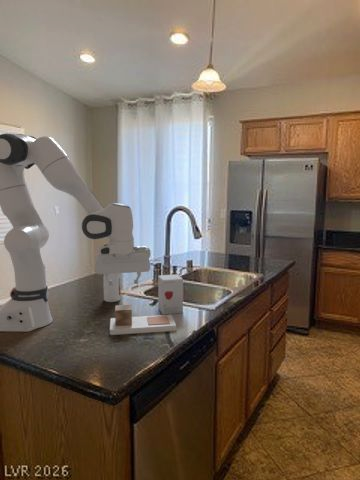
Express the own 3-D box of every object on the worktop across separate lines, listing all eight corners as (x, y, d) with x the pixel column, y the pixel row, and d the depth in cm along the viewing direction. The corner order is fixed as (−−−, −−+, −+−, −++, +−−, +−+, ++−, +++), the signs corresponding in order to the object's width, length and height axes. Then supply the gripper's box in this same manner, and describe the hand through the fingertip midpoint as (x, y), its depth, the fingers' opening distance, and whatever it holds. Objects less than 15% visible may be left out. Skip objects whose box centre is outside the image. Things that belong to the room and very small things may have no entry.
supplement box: (162, 315, 153) (162, 280, 151) (157, 308, 161) (157, 275, 159) (183, 313, 155) (183, 278, 153) (178, 306, 164) (177, 273, 162)
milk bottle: (117, 303, 169) (115, 260, 167) (101, 302, 171) (99, 259, 168) (122, 298, 177) (121, 257, 174) (107, 297, 178) (106, 256, 176)
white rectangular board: (109, 335, 132) (109, 329, 132) (110, 323, 144) (110, 318, 144) (176, 330, 136) (176, 325, 136) (171, 319, 148) (171, 314, 148)
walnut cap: (115, 326, 135) (115, 310, 134) (115, 320, 141) (115, 305, 140) (132, 325, 136) (131, 309, 135) (131, 319, 142) (131, 304, 141)
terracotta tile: (148, 325, 136) (148, 324, 136) (146, 317, 144) (146, 317, 144) (169, 323, 138) (169, 323, 137) (167, 316, 145) (167, 315, 145)
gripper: (149, 245, 139) (150, 280, 141) (94, 247, 136) (96, 283, 138) (150, 247, 133) (152, 284, 135) (93, 250, 130) (95, 288, 132)
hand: (123, 284), depth 137 cm, fingers open, 8 cm apart
